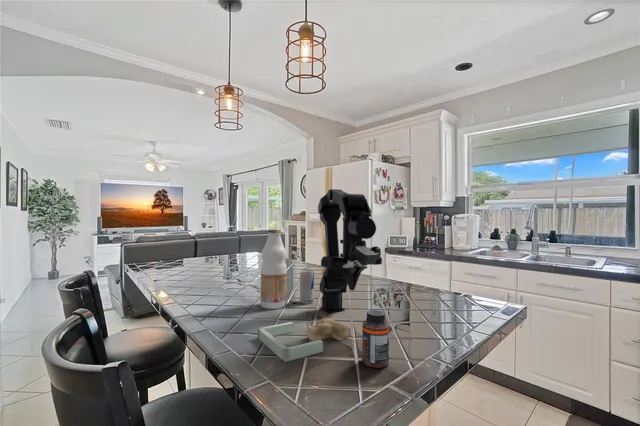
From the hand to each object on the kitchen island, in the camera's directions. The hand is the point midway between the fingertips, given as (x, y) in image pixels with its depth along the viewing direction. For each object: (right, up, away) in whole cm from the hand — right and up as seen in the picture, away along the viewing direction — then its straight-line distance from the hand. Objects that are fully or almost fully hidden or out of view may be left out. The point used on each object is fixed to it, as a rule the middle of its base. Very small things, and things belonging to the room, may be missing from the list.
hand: (352, 290), depth 90 cm
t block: (-8, -11, -5) cm, 15 cm away
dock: (-17, -11, -11) cm, 24 cm away
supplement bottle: (+3, -11, -21) cm, 24 cm away
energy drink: (-14, -12, +29) cm, 34 cm away
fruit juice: (-27, -12, +23) cm, 37 cm away
